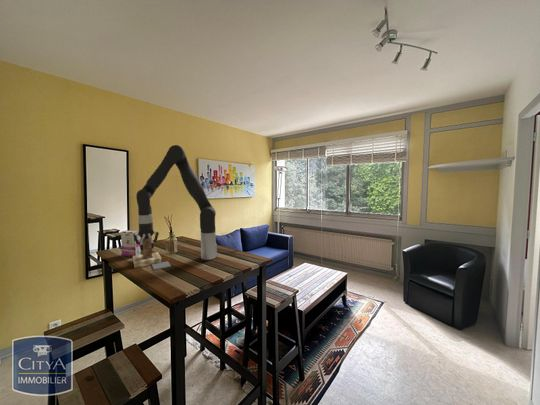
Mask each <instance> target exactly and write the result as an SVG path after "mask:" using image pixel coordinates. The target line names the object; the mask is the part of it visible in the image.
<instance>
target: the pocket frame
mask: <svg viewBox="0 0 540 405" xmlns="http://www.w3.org/2000/svg"><path fill="white" fill-rule="evenodd" d="M162 259H163V258H162V256H161V255H160V253H159V252H158V251H156V252H152V256H150V257H143V253H141V255H136V256H133V257H132V261H133V262H132V263H133V265H134V266H133V267H134V269H136V268H137V269H138V268H143V267H149V266H152V264H156V263H161V262H162Z"/></svg>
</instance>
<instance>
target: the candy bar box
mask: <svg viewBox="0 0 540 405" xmlns="http://www.w3.org/2000/svg"><path fill="white" fill-rule="evenodd" d="M138 232H139V230H127V229H126V230H122V231H120V238H121V239H120V241H121V242H120V243H121V246H120V247H121V256H122V257H129V258H130V257H131V258H133V256H136V255H142V250H140V245H139V244H136V241H135V239H134V236H133V235H134V234H138ZM137 240H138V242H140V240H141V237H140V236H139V235H138V237H137Z"/></svg>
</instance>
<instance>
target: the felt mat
mask: <svg viewBox="0 0 540 405" xmlns="http://www.w3.org/2000/svg"><path fill="white" fill-rule="evenodd" d="M151 267H152V269H153V270H154V271H159V270H162V269H163V270H164V269H167V268H172V265H171V263H170V262H169V261H163V262H161V263H156V264H152V265H151Z"/></svg>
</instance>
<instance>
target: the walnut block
mask: <svg viewBox="0 0 540 405" xmlns="http://www.w3.org/2000/svg"><path fill="white" fill-rule="evenodd" d="M152 253H153V249H152V245H151V238H147V239H143V251H142V254H143V257H150V256H152Z"/></svg>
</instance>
